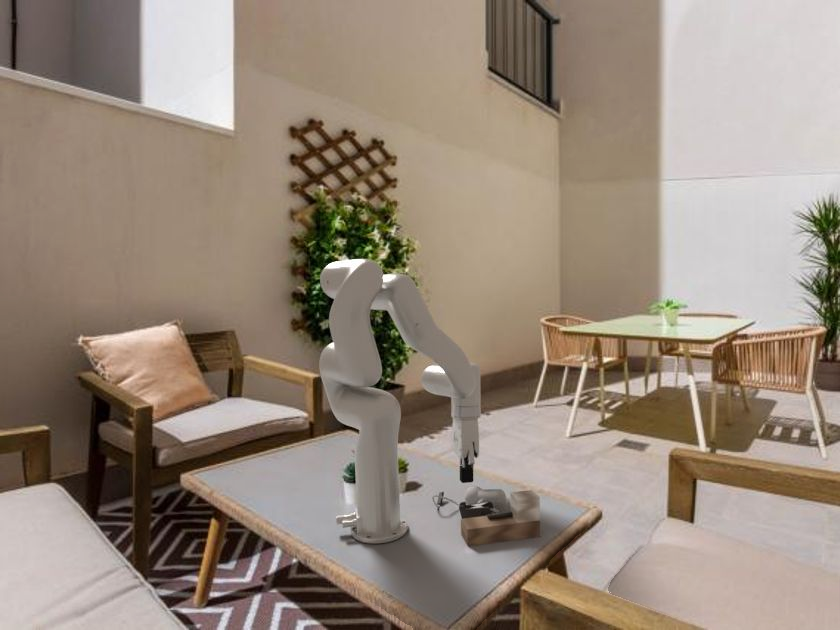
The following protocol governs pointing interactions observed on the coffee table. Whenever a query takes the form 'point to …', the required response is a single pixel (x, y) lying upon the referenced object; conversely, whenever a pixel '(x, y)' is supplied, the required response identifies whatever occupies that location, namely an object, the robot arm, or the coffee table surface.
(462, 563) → the coffee table surface
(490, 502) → the clip-on lamp
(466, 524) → the charging dock
